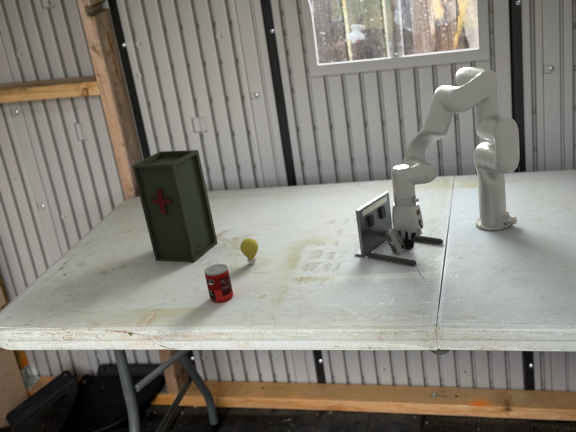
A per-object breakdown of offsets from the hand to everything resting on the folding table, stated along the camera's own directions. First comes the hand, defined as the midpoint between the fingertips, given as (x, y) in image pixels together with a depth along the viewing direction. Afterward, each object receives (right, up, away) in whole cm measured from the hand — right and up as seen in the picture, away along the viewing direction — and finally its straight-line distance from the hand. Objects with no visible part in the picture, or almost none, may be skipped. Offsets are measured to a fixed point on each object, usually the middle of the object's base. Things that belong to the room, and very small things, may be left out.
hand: (409, 248), depth 235 cm
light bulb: (-57, -7, +12) cm, 58 cm away
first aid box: (-84, -3, +34) cm, 91 cm away
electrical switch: (-3, -1, +3) cm, 4 cm away
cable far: (+5, +2, +8) cm, 10 cm away
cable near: (-7, -4, -5) cm, 10 cm away
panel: (-10, 0, +9) cm, 14 cm away
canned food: (-66, -17, -10) cm, 69 cm away
